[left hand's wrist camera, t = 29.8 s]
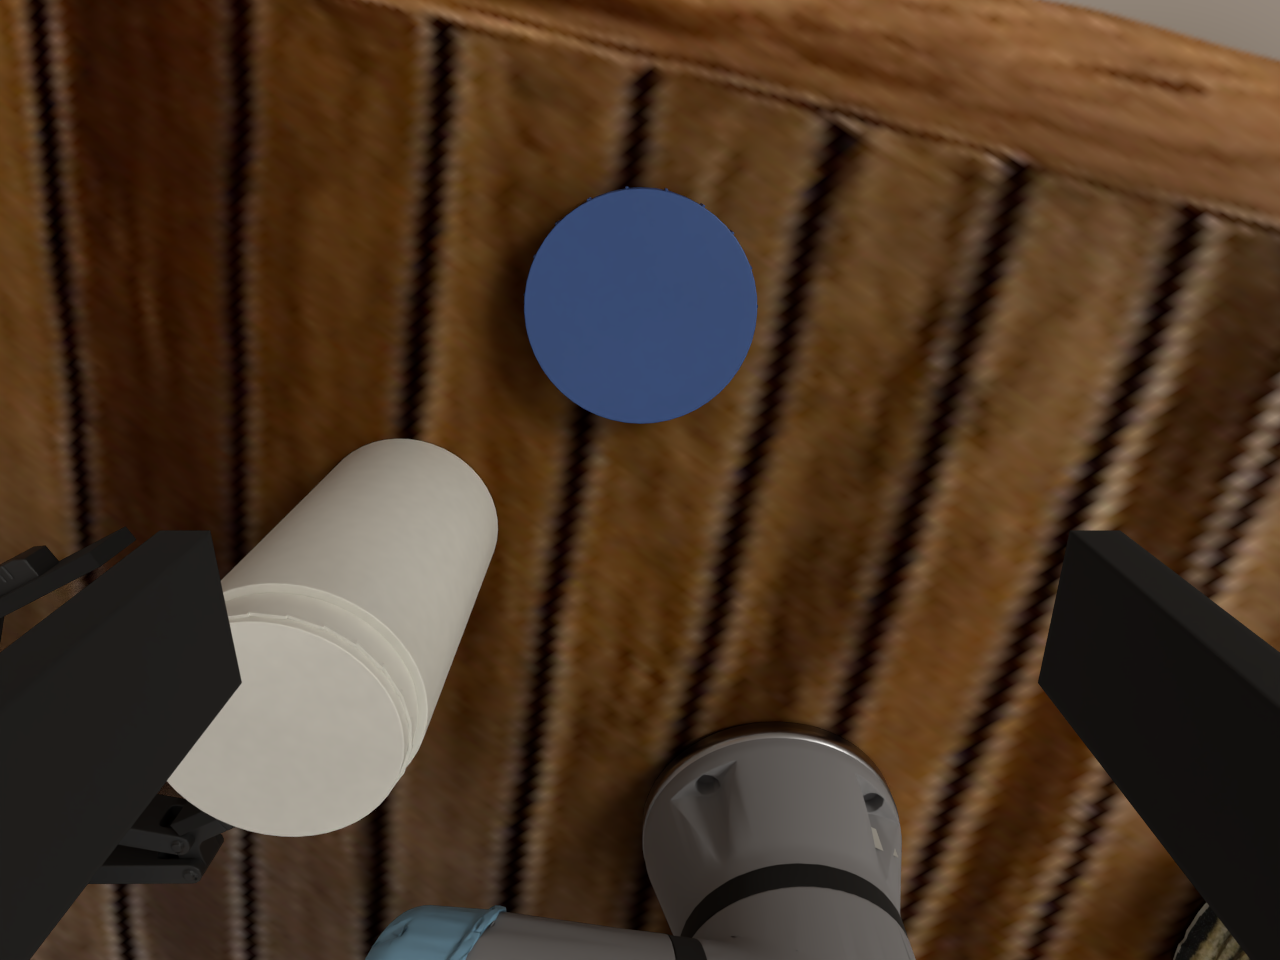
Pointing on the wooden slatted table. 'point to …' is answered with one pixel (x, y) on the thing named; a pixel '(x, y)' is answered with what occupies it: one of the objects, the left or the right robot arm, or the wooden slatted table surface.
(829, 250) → the wooden slatted table surface
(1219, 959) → the fossil
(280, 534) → the jar
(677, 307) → the lid
